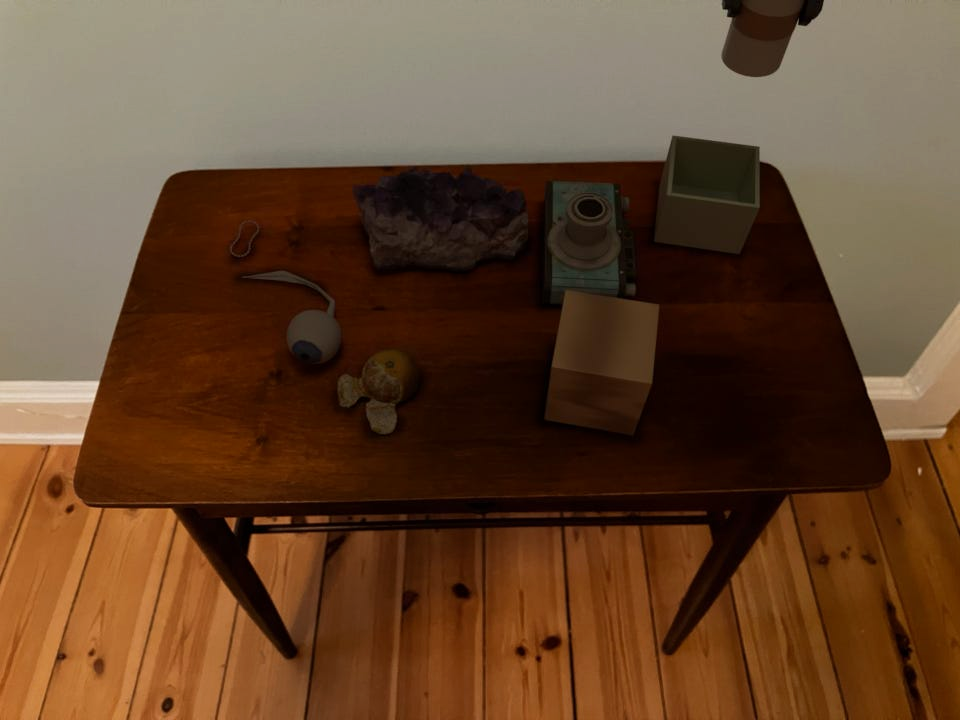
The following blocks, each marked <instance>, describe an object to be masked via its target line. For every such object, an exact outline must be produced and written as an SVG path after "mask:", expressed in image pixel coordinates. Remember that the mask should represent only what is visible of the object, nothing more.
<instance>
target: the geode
mask: <svg viewBox="0 0 960 720" xmlns="http://www.w3.org/2000/svg"><path fill="white" fill-rule="evenodd" d="M352 194H353V198H354V200H355V202H356V206H357V208H358V210H359V212H360V218H359V220H360V222H361V223H362V226H363V228H364V231H365V233H366V236H368V237H369V238H368V239H369V240H368V244H369V245H370V248H369V252H370V256H371V258H372V262H373V266H374V267H373V268H375V269H376V270H382V271H383V270H385V271H391V270H396V269H399V268H407V267H413V266H416V267H420V268H423V269H428V270H433V269H436V270H447V271H451V272H452V271H453V272H468V271H470V270H472V269H474V268H475V267H476V266H477V265H478V263H479V262H483V261H487V260H488V261H489V260H492V259H499V260H500V259H501V260H506V261H515V260H516V258H517V257H518V256H519V255H520V254H521V253H523V251H524V250H526V248H527V243H528V241H529V230H528V228H529V225H528V224H529V222H530V220H529V218H528V216H529V215H528V212H527V205H528V204H527V200H526V198H525V193H524V191H523V189H521V188H517V189H513V190H510V191H508V189H507V188H504V185H503V184H502V183H500V182H497V181H495V180H493V179H491V178H490V177H485V178H483V177H481V176H478V175H477V174H474V173H473V168H472V167H471V166H466V167H465V168H464V170H463V171H462V172H461V173H459V174H458V175H457V176H456V177H454V176H453V175H452V174H451V173H450V172H449V171H447V172H446V170H445V171H441V172H437V171H431V170H428V169H421V170H419V168H418V167H417V166H416V165H415V166H413V167H412V168H410V169H408V170H405V171H400V173H398V174H397V175H384V176H380V177H379V178H378V179H377V182H376V183H375V184H364V185H363V184H362V185H361V184H354V185H353V187H352Z"/></svg>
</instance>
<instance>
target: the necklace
mask: <svg viewBox="0 0 960 720" xmlns="http://www.w3.org/2000/svg"><path fill="white" fill-rule="evenodd" d="M247 223H252V224H254V225H255V226H256V227H257V229H256V232H255V233H254V234H253V235H252V236H251V238H250V239H249V241H248V245H247V246H248V250H247V251H246V253H244V254H241V255H240V254H238V255H237V254H236V253H235V252H233V247H234V245H236V242H238V241H239V239H240V237H241V233H242V231H241V230H242V227H243V226H244V225H245V224H247ZM260 229H261V227H260V226H259V223H257V221H254V220H250V219H249V220H247V221H246V220H245V221H244V222H241V224H240V225H239V227H238V230H239V231H238V234H237V235H238V236H236V239H235V240H234V241H233V242H232V243H231V244H230V247H229V249H230V250H229V252H230V253H231V255H233V256H234V257H237V258H240V257H242V258H243V257H244V256H247V255H248V254H250V251H251V247H252V246H251V245H252V242H253V239H254V237H256V235H258V233H259V232H260Z"/></svg>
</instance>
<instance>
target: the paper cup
mask: <svg viewBox="0 0 960 720" xmlns="http://www.w3.org/2000/svg"><path fill="white" fill-rule="evenodd" d="M804 2H805V0H741V3H740V8H739V12H738V14H737V16H736V17H735V18H731V20H730V24H729V26H728V31H727V33H726V37H725V41H724V44H723V47H722V50H721V60H722V61H721V62H723V63H722V64H723V65H724V66H725V67H726V68H728V69H729V70H730V71H732V72H734V73H736V74H738V75H741V76H743V77H750V78H763V77H767V76H771V75H773V74H774V73H776V72H778V70H779V69H780V67H781V65H782V62H783V60H784V58H785V55H786V52H787V49H788V47H789V44H790V41H791V39H792V37H793V33H794V31H795V30H796V27H797V26H798V20H799V17H800V14H801V12H802V9H803V6H804Z"/></svg>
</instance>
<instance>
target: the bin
mask: <svg viewBox="0 0 960 720" xmlns="http://www.w3.org/2000/svg"><path fill="white" fill-rule="evenodd" d="M760 152H761V151H760V146H757V145H750V144H741V143H735V142H734V143H733V142H727V141H720V140H719V141H718V140H710V139H704V138H703V139H702V138H697V137H696V138H695V137H688V136H681V135H672V136H671V139H670V143H669V147H668V151H667V153H666V154H667V155H666V158H665V162H664V166H663V170H662V174H661V178H660V180H659V187H658V197H657V207H656V215H655V216H656V217H655V226H654V235H653V242H654V243H658V244H659V243H660V244H667V245H673V246H679V247H687V248H693V249H694V248H695V249H699V250H708V251H713V252H714V251H715V252H720V253H728V254H734V255H740V254H741V253H742V250H743V248H744V245H745V242H746V240H747V238H748V236H749V234H750V231H751V229H752V226H753V225H754V222H755V220H756V217H757V215H758V213H759V210H760V208H761V207H760V204H761V201H760V200H761V199H760V198H761V197H760V196H761V193H760V192H761V191H760V189H761V187H760V184H761V183H760V182H761V179H760V177H761V175H760V173H761V171H760V169H761V168H760V167H761V166H760V164H761V163H760V160H761V159H760V157H761V155H760Z"/></svg>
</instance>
